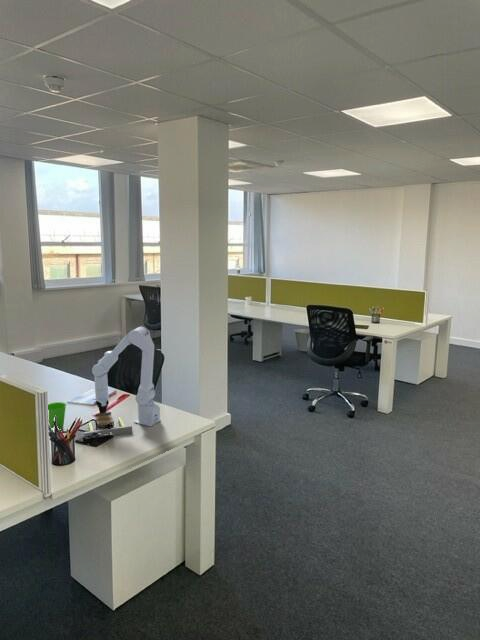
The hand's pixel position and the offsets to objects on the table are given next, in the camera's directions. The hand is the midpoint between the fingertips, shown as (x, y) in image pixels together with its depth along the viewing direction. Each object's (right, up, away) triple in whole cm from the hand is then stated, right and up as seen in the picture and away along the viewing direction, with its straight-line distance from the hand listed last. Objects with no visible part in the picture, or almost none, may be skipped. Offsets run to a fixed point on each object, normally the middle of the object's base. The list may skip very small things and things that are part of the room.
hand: (102, 415), depth 222 cm
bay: (+5, -4, -12) cm, 14 cm away
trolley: (+3, -3, -6) cm, 7 cm away
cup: (-17, -4, -12) cm, 21 cm away
